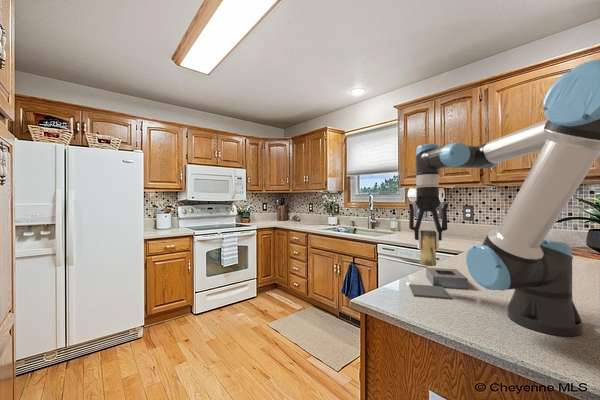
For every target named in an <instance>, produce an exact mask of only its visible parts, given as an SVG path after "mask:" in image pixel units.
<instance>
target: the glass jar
mask: <svg viewBox="0 0 600 400" xmlns="http://www.w3.org/2000/svg"><path fill="white" fill-rule="evenodd" d="M419 231H420V232H421V249H419V250H420V251H419V254H420V255H419V257H420V258H419V260H420V261H419V262H420V265H421V266H425V267H436V266H437V250H436V231H437V230H436V231H435V230H431V229H423V230H422V229H421V230H420V229H419Z"/></svg>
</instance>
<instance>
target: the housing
mask: <svg viewBox="0 0 600 400" xmlns="http://www.w3.org/2000/svg"><path fill="white" fill-rule="evenodd" d="M425 277H426V279H428V281H429V283H430V284H431V286H442V287H443V288H448V289H463V290H468V289H469V285H468V283H469V281H468V280H469V279H468V277H466V276H465V275H464V274H463V273H462V272H460V271H459V270H457V268H456V269H455V268H443V267H442V268H441V267H425Z"/></svg>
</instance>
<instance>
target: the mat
mask: <svg viewBox="0 0 600 400" xmlns="http://www.w3.org/2000/svg"><path fill="white" fill-rule="evenodd" d="M408 287H409V288H410V291H411V293H412V295H413V297H420V298H431V299H444V300H452V296H451V294H449V292H448V291H447V290H446V288H445V287H442V286H433V285H430V284H429V285H427V284H414V283H409V284H408Z"/></svg>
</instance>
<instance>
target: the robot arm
mask: <svg viewBox="0 0 600 400" xmlns="http://www.w3.org/2000/svg"><path fill="white" fill-rule="evenodd" d="M542 109H543V110H544V112H543V114H544V116H545V118H546V119H545V120H542V121H540V122H537V123H534V124H532V125H529V126H527V127H524V128H521V129H519V130H516V131H514V132H512V133H509V134H506V135H504V136H503V135H502V136H501V137H498V138H495V139H494V140H491V141H487V142H484V143H482V144H480V145H467V144H465V143H463V142H462V141H461V142H452V143H448V144H446V145H442V146H439V145H438V144H436V143H425V144H420V145H418V146H417V147H416V150H415V151H416V152H415V154H416V155H415V170H416V171H415V173H416V176H415V177H416V180H415V182H416V183H415V185H416V190H415V191H416V192H415V193H416V198H415V200H414V202H410V203H408V204H407V206H408V209H409V214H408V215H409V216H408V217H409V220H408V222H409V223H408V227H409V229H410V230H411V231H413V232H414V240H415V241H417V249H418V250H420V249H421V232H420V227H421V224H422V220H423V216H424V214H425V213H426V212H429V213H431V215H432V219H433V222H434V226H435V228H436V229H435V230H436V251H439V249H440V247H439V245H440V244H439V243H440V242H441V241H442V239H443V237H442V236H443V232H444V231H447V230H448V214H447V213H448V211H447V210H448V207H449V203H446V202H442V201H441V199H440V189H439V183H440V182H439V181H440V178H439V176H440V175H439V174H440V173H439V170H440V169H448V168H452V169H453V168H454V169H456V168H458V169H459V168H460V169H481V170H483V169H484V170H485V169H491V168H495V167H496V166H497V165H499V164H500V163H503V162H507V161H510V160H513V159H517V158H520V157H524V156H525V157H526V156H527V155H531V154H535V153H538V155H537V157H536V159H535V161H534V163H533V165H532V166H531V169H529V172H528V174H527V176H526V177H525V179H524V181H523V182H522V185H521V187H520V189H519V191H518V193H517V194H516V196H515V198H514V200H513V202H512V203H511V205H510V207H509V209H508V211H507V213H506V215H505V216H504V219H502V221H501V224H500V226H499V228H497V229H492V230H490V231H489V232H487V235H486V237H485V238H484V241H482V244H481V243H479V244H475V245H473V246H472V245H471V247H470V248H469V249H468V250H467V252H466V256H465V264H466V267H467V270H468V273H469V275H470V276H471V278H472V279H473V280H474V282H475V283H477V284H478V285H479V286H481V288H484V289H486V290H489V291H501V292H502V291H503V292H504V291H507V290H514V291H513V294H512V296H511V298H510V301H509V303H508V306H507V317H508V318H509V319H510V320H511V321H513V322H514V323H516V324H518V325H520V326H523V327H525V328H527V329H530V330H534V331H537V332H539V333H544V334H549V335H555V336H560V337H561V336H562V337H577V336H578V337H579V336H580V335H582V334H583V332H584V327H583V326H584V325H583V321H582V319H581V316H580V314H579V311H578V310H577V307H576V305H575V302H574V300H573V259H574V257H573V255H572V248H571V246H570V244H568V243H566V242H565V241H564V242H562V241H558V240H548V239H545V238H546V237H547V236H548V235H549V232H550V231H551V229H552V228H553V226H554V224H555V223H556V221H558V219H559V218H560V216H561V214H562V213H563V211H564V210H565V208H566V207H567V205H568V204H569V202H570V200H572V197H573V196H574V194H575V193H576V191H578V189H579V187H580V185H581V184H582V182H583V180H584V179H585V178H586V176H587V174H588V173H589V172H590V170H591V168H592V167H593V166H594V164H595V163H596V161H597V159H598V158H599V156H600V58H598V59H593V60H589V61H586V62H583V63H580V64H578V65H576V66H574V67H573V68H572V69H570V70H568V71H566V72H565V73H563V74H562V75H561V76H560V77H558V78H557V79H556V80H555V81H554V82H553V83H552V85H551V86H550V87H549V89H548V90H547V92H546V93H545V96H544V99H543V103H542ZM416 207H417V208H419V209H418V214H417V219H416V222H415V221H414V220H415V218H414V217H415V208H416ZM438 207H440V210H441V213H440V214H441V222H440V219H439V216H438V212H437V209H438ZM414 222H415V223H414ZM439 241H440V242H439Z"/></svg>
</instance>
